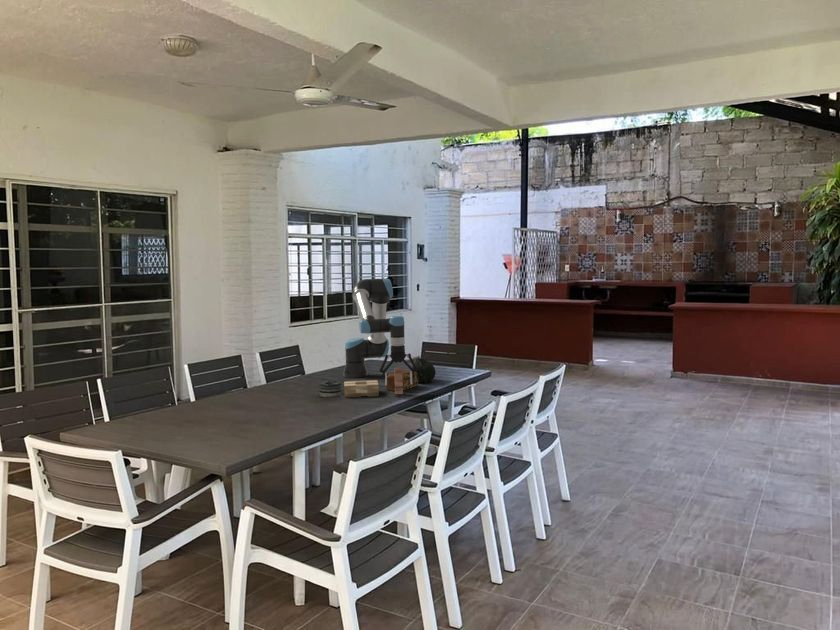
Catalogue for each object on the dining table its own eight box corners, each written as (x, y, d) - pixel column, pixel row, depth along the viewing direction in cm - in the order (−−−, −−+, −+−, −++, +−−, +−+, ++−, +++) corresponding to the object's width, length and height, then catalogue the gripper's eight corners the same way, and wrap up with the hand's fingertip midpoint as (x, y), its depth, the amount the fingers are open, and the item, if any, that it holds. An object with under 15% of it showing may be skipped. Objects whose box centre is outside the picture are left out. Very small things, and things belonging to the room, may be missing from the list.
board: (344, 392, 360) (344, 381, 360) (377, 390, 362) (377, 380, 362) (344, 397, 346) (344, 386, 346) (378, 395, 348) (378, 384, 348)
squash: (439, 370, 392) (422, 351, 391) (440, 375, 377) (422, 356, 376) (422, 385, 393) (405, 367, 392) (422, 392, 379) (404, 373, 377)
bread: (400, 392, 357) (400, 374, 356) (384, 390, 363) (384, 372, 362) (419, 386, 373) (418, 368, 372) (403, 384, 379) (403, 367, 378)
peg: (394, 393, 354) (394, 367, 353) (402, 392, 355) (401, 367, 354) (395, 394, 350) (394, 368, 349) (403, 394, 351) (402, 368, 350)
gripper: (374, 346, 345) (375, 386, 347) (421, 344, 348) (422, 384, 350) (373, 345, 352) (375, 384, 354) (420, 343, 355) (420, 381, 357)
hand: (398, 384), depth 352 cm, fingers open, 13 cm apart
